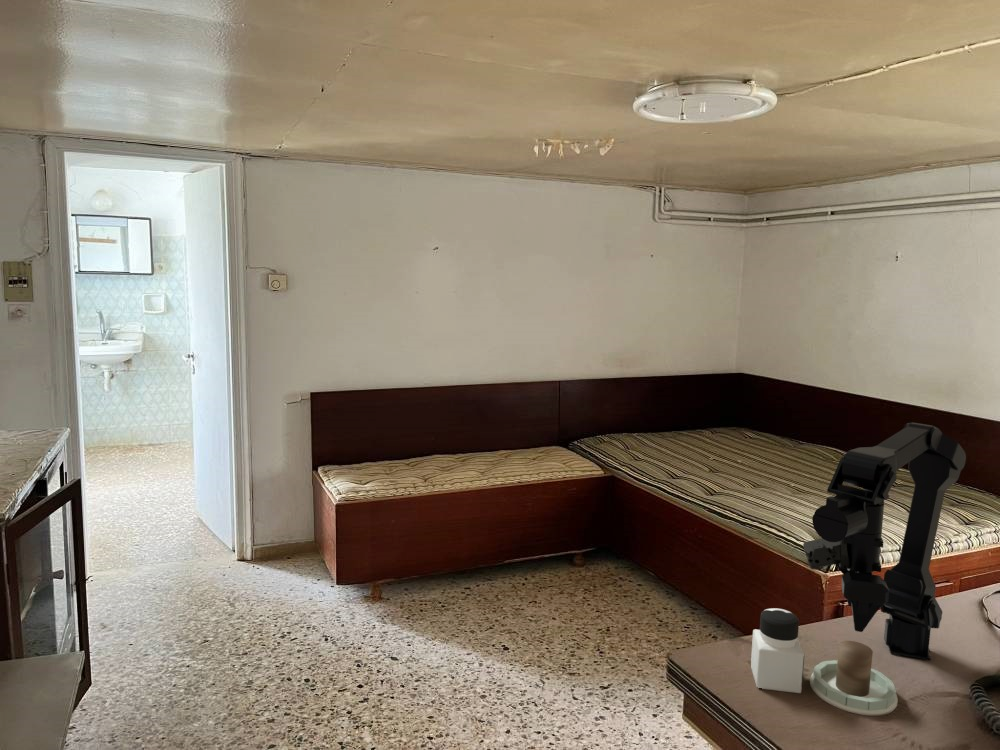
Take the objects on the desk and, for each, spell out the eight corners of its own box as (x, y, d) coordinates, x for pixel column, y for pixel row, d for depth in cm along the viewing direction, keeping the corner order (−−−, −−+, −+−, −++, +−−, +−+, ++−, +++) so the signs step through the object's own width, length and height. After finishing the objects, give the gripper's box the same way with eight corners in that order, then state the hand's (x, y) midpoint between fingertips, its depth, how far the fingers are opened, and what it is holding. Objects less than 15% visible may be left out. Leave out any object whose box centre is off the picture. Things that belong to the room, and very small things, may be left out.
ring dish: (890, 679, 121) (891, 667, 121) (903, 723, 109) (905, 710, 109) (808, 664, 126) (808, 653, 126) (812, 704, 114) (813, 692, 114)
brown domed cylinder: (867, 683, 119) (870, 644, 118) (871, 699, 114) (874, 659, 113) (834, 677, 121) (837, 638, 120) (837, 692, 116) (840, 652, 115)
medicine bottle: (802, 694, 117) (807, 625, 115) (756, 689, 118) (760, 621, 116) (793, 671, 124) (798, 606, 122) (750, 666, 125) (754, 602, 123)
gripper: (805, 505, 127) (799, 587, 129) (812, 541, 110) (805, 636, 112) (874, 512, 123) (867, 597, 125) (893, 551, 106) (884, 649, 108)
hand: (854, 618), depth 118 cm, fingers open, 9 cm apart
